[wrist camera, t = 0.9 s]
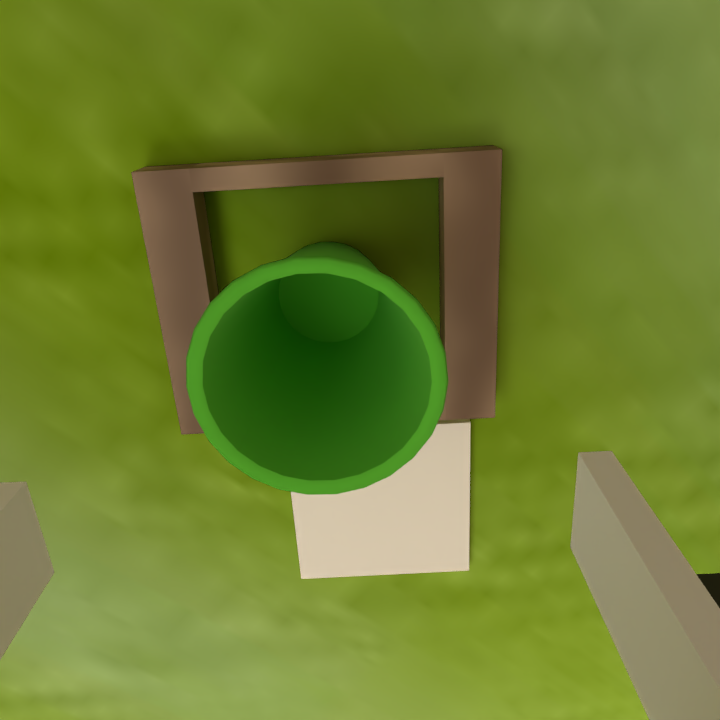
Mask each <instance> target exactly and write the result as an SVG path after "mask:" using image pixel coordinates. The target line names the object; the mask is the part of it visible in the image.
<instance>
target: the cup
mask: <svg viewBox="0 0 720 720" xmlns="http://www.w3.org/2000/svg"><path fill="white" fill-rule="evenodd" d="M447 387H448V371H447V361H446V352H445V349H444V347H443V344H442V341H441V339H440V336H439V333H438V331H437V328H436V325H435V324H434V322H433V321H432V319H431V318H430V317H429V315H428V314H427V312H426V311H425V310H424V308H423V307H422V305H421V304H420V303H419V301H418V300H417V299H416V298H415V297H414V296H413V295H412V294H410V293H409V292H408V291H407V290H406V289H404V288H403V287H402V286H401V285H400V284H398V283H397V282H396V281H395V280H394V279H392V278H391V277H389V276H387V275H385V274H383V273H381V272H380V271H379V270H378V269H377V268H376V267H375V266H374V265H373V264H372V262H371V261H370V260H369V259H368V258H367V257H365V256H364V255H363V254H362V253H361V252H360V251H358V250H356V249H354V248H352V247H350V246H348V245H345V244H341V243H337V242H319V243H315V244H311V245H307V246H306V247H304V248H302V249H300V250H298V251H296V252H295V253H293V254H292V255H290V256H289V257H287V258H286V259H282V260H279V261H275V262H271V263H267V264H264V265H261V266H259V267H257V268H255V269H253V270H252V271H250V272H248V273H246V274H244V275H243V276H241V277H239V278H237V279H235V280H233V281H232V282H231V283H230V284H229V285H228V286H227V287H226V288H225V289H224V290H223V291H222V292H221V293H219V294H218V295H217V296H216V297H215V298H214V299H213V300H212V301H211V302H210V303H209V305H208V306H207V308H206V310H205V311H204V313H203V315H202V316H201V318H200V320H199V321H198V323H197V325H196V326H195V328H194V331H193V334H192V338H191V342H190V345H189V349H188V353H187V356H186V388H187V391H188V395H189V399H190V402H191V406H192V410H193V413H194V416H195V417H196V419H197V421H198V423H199V424H200V426H201V428H202V430H203V431H204V433H205V435H206V437H207V438H208V440H209V442H210V443H211V444H212V445H213V446H214V447H215V448H216V449H217V450H218V451H219V452H220V453H221V455H222V456H223V457H224V458H225V459H226V460H227V461H228V462H229V463H230V464H232V465H233V466H235V467H236V468H238V469H239V470H241V471H242V472H244V473H245V474H247V475H248V476H250V477H251V478H252V479H255V480H257V481H260V482H262V483H265V484H267V485H270V486H272V487H274V488H277V489H280V490H285V491H290V492H296V493H301V494H306V495H321V494H340V493H344V492H349V491H353V490H357V489H362V488H365V487H367V486H370V485H372V484H374V483H376V482H378V481H380V480H383V479H385V478H387V477H389V476H391V475H392V474H393V473H395V472H396V471H397V470H399V469H400V468H401V467H402V466H404V465H405V464H406V463H408V462H409V461H410V460H412V459H413V458H414V457H415V455H416V454H417V453H418V452H419V451H420V449H421V448H422V447H423V446H424V444H425V443H426V442H427V441H428V439H429V438H430V437H431V436H432V434H433V432H434V430H435V427H436V425H437V423H438V421H439V419H440V416H441V414H442V412H443V410H444V405H445V399H446V393H447Z"/></svg>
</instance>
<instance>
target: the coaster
mask: <svg viewBox="0 0 720 720" xmlns="http://www.w3.org/2000/svg"><path fill="white" fill-rule="evenodd" d="M470 427H471V422H470V419H457V420H439V421H438V423H437V425H436V427H435V430H434V432H433V434H432V436H431V437H430V438H429V439H428V441H427V442H426V443H425V444H424V446H423V447H422V448H421V449H420V451H419V452H418V453H417V454H416V455H415V457H414V458H413V459H412V460H410V461H409V462H408V463H406V464H405V465H404V466H402V467H401V468H400V469H399V470H397V471H396V472H395V473H393V474H392V475H391V476H389V477H387V478H385V479H383V480H380V481H378V482H376V483H374V484H372V485H370V486H367V487H365V488H362V489H357V490H353V491H349V492H344V493H340V494H321V495H306V494H301V493H296V492H291V497H292V505H293V513H294V522H295V530H296V538H297V547H298V555H299V563H300V572H301V579H308V578H328V577H348V576H368V575H388V574H408V573H429V572H449V571H469V527H470Z"/></svg>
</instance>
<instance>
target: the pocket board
mask: <svg viewBox="0 0 720 720" xmlns="http://www.w3.org/2000/svg"><path fill="white" fill-rule="evenodd" d="M131 173H132V178H133V183H134V189H135V194H136V199H137V204H138V209H139V215H140V220H141V225H142V230H143V236H144V241H145V246H146V251H147V256H148V262H149V267H150V272H151V277H152V283H153V288H154V293H155V298H156V303H157V309H158V314H159V319H160V324H161V330H162V335H163V340H164V345H165V350H166V356H167V361H168V366H169V371H170V376H171V382H172V387H173V392H174V397H175V403H176V408H177V413H178V418H179V423H180V429H181V434H198V433H204V431H203V430H202V428H201V426H200V424H199V423H198V421H197V419H196V417H195V416H194V413H193V410H192V406H191V402H190V399H189V395H188V391H187V388H186V356H187V353H188V349H189V345H190V342H191V338H192V334H193V331H194V328H195V326H196V325H197V323H198V321H199V320H200V318H201V316H202V315H203V313H204V311H205V310H206V308H207V306H208V305H209V303H210V302H211V301H212V300H213V299H214V298H215V297H216V296H217V295H218V294H219V292H218V285H217V279H216V272H215V265H214V259H213V252H212V245H211V239H210V232H209V225H208V219H207V212H206V206H205V199H204V192H206V191H223V190H239V189H255V188H272V187H288V186H305V185H321V184H337V183H354V182H370V181H387V180H403V179H419V178H436V177H439V269H440V339H441V341H442V344H443V347H444V349H445V352H446V361H447V371H448V387H447V393H446V399H445V405H444V410H443V412H442V414H441V416H440V419H439V420H457V419H475V418H494V417H495V397H496V360H497V322H498V285H499V248H500V211H501V173H502V149H500V148H498V147H496V146H494V145H489V146H473V147H457V148H441V149H425V150H408V151H392V152H376V153H360V154H344V155H327V156H311V157H295V158H279V159H263V160H246V161H230V162H214V163H198V164H182V165H165V166H149V167H143V168H141V169H138V170H136V171H133V172H131Z"/></svg>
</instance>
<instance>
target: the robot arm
mask: <svg viewBox="0 0 720 720" xmlns="http://www.w3.org/2000/svg"><path fill="white" fill-rule="evenodd" d="M571 549H572V552H573V554H574V556H575V558H576V560H577V562H578V565H579V567H580V569H581V571H582V573H583V576H584V578H585V580H586V582H587V584H588V587H589V589H590V591H591V593H592V595H593V597H594V600H595V602H596V604H597V606H598V608H599V611H600V613H601V615H602V617H603V619H604V622H605V624H606V626H607V628H608V630H609V632H610V635H611V637H612V639H613V641H614V643H615V646H616V648H617V650H618V652H619V654H620V657H621V659H622V661H623V663H624V665H625V667H626V670H627V672H628V674H629V676H630V678H631V681H632V683H633V685H634V687H635V689H636V692H637V694H638V696H639V698H640V700H641V702H642V705H643V707H644V709H645V711H646V713H647V716H648V718H649V720H720V573H715V574H696V573H695V572H694V570H693V569H692V567H691V566H690V564H689V563H688V562H687V560H686V559H685V557H684V556H683V554H682V553H681V551H680V550H679V548H678V547H677V546H676V544H675V543H674V541H673V540H672V538H671V537H670V535H669V534H668V532H667V531H666V530H665V528H664V527H663V525H662V524H661V522H660V521H659V519H658V518H657V516H656V515H655V514H654V512H653V511H652V509H651V508H650V506H649V505H648V503H647V502H646V500H645V499H644V498H643V496H642V495H641V493H640V492H639V490H638V489H637V487H636V486H635V484H634V483H633V482H632V480H631V479H630V477H629V476H628V474H627V473H626V471H625V470H624V468H623V467H622V466H621V464H620V463H619V461H618V460H617V458H616V457H615V455H614V454H613V452H612V451H600V452H581V453H578V465H577V477H576V488H575V500H574V512H573V523H572V535H571ZM53 574H54V570H53V566H52V563H51V560H50V557H49V554H48V550H47V547H46V544H45V541H44V538H43V534H42V531H41V528H40V525H39V521H38V518H37V515H36V512H35V509H34V505H33V502H32V499H31V496H30V493H29V489H28V486H27V483H26V482H7V483H0V659H1V658H2V656H3V654H4V653H5V651H6V650H7V648H8V646H9V645H10V643H11V642H12V640H13V638H14V637H15V635H16V634H17V632H18V630H19V629H20V627H21V625H22V624H23V622H24V621H25V619H26V617H27V616H28V614H29V613H30V611H31V609H32V608H33V606H34V605H35V603H36V601H37V600H38V598H39V596H40V595H41V593H42V592H43V590H44V588H45V587H46V585H47V584H48V582H49V580H50V579H51V577H52V576H53Z"/></svg>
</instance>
